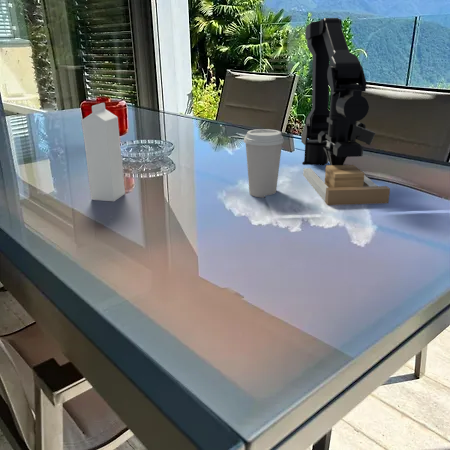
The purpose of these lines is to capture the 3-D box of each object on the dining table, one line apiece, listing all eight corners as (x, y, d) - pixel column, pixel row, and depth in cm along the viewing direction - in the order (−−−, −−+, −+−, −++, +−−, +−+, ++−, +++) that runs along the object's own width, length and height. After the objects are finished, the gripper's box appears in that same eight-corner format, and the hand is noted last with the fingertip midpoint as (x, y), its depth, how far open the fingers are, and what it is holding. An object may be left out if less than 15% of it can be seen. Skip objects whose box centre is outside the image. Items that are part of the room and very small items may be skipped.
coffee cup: (285, 189, 116) (288, 129, 110) (277, 201, 107) (279, 137, 102) (249, 186, 119) (250, 127, 113) (238, 197, 110) (238, 135, 105)
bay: (303, 177, 125) (303, 163, 124) (353, 175, 126) (354, 161, 125) (327, 207, 103) (328, 190, 102) (387, 205, 104) (390, 188, 103)
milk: (91, 200, 110) (78, 105, 101) (103, 192, 115) (92, 102, 107) (114, 201, 108) (103, 106, 100) (125, 193, 114) (116, 102, 105)
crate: (324, 184, 117) (325, 165, 115) (351, 183, 118) (353, 164, 116) (333, 194, 110) (335, 174, 108) (362, 193, 110) (364, 173, 108)
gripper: (388, 120, 105) (380, 185, 111) (360, 108, 122) (354, 166, 128) (340, 121, 104) (334, 187, 110) (319, 109, 121) (315, 167, 127)
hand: (336, 176), depth 119 cm, fingers closed
